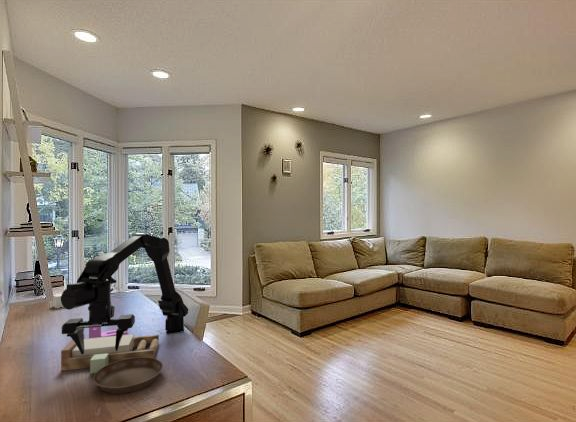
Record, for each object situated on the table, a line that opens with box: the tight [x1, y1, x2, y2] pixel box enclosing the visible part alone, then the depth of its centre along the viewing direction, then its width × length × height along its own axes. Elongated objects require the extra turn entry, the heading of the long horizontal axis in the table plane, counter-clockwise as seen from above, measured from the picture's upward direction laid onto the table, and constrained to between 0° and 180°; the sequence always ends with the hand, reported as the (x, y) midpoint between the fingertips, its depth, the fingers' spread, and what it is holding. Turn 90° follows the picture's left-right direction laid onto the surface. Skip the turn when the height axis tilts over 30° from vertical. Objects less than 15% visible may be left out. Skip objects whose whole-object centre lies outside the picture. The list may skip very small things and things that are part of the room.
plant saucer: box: [92, 357, 164, 394], centre depth 94 cm, size 18×18×3 cm
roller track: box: [60, 333, 160, 371], centre depth 111 cm, size 26×14×6 cm, turn 105°
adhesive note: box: [52, 293, 64, 309], centre depth 171 cm, size 6×6×6 cm
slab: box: [72, 333, 135, 358], centre depth 110 cm, size 16×10×2 cm, turn 107°
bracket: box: [88, 327, 128, 339], centre depth 128 cm, size 13×6×7 cm, turn 123°
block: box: [89, 353, 109, 374], centre depth 101 cm, size 4×4×4 cm
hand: (100, 352), depth 101 cm, fingers open, 9 cm apart
